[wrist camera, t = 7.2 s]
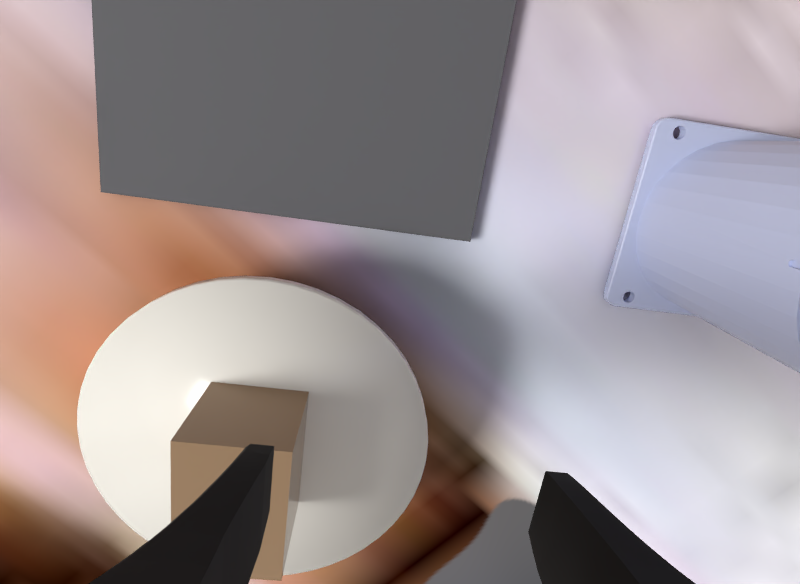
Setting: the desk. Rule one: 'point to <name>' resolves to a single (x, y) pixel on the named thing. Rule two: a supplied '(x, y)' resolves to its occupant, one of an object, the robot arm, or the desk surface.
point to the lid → (256, 415)
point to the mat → (303, 106)
